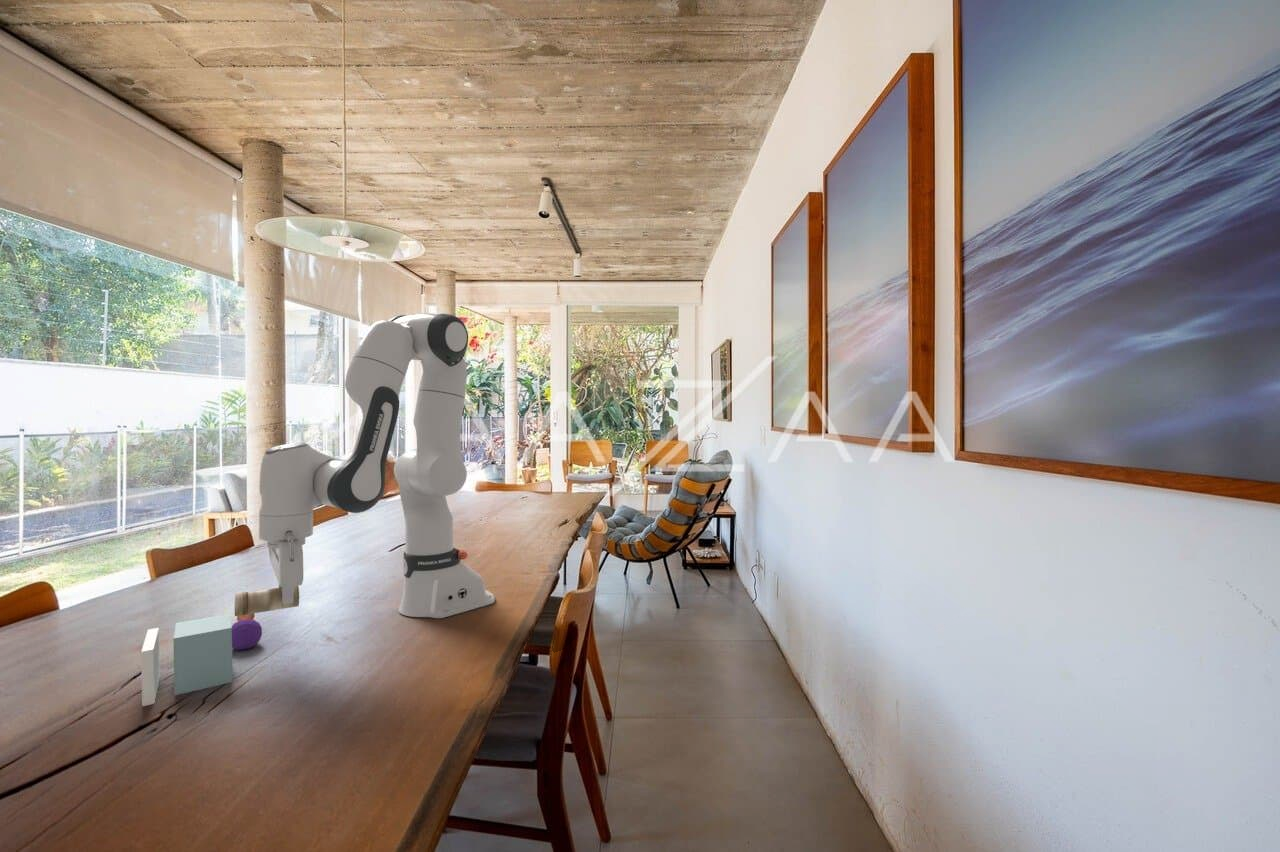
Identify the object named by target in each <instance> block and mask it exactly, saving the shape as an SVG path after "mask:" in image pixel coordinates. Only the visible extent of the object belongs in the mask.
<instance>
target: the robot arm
mask: <svg viewBox="0 0 1280 852" xmlns="http://www.w3.org/2000/svg"><path fill="white" fill-rule="evenodd" d="M468 344H469V333H468V330H467V328H466V325H465V323H464V321H463V320H462V319H461V318H459V317H457V316H456V315H453V314H448V313H429V312H422V313H417V314H408V315H403V314H402V315H398V316H395V317H392V318H390V319H388V320H386V319H385V320H384V319H382V320H378V321H376V322H374V323H373V324H372V325H371V326H370V327H369V329H367V332H366V333H365V334H364V336H363V337H362V339H361V341H360V343H359V344H358V346H357V347H356V350H355V353H354V355H353V356H352V359H351V361H350V363H349V366H348V368H347V370H346V375H345V380H344V382H345V383H344V387H345V390H346V393H347V395H348V396H349V397H350V399H351V400H352V401H353V402H354V403H355V404H357V405H358V407H359V408H360V409H361V414H362V420H361V424H360V426H359V431H358V435H357V438H356V441H355V444H354V448H353V450H352V453H351V454H350V456H349V457H348V458H347V459H342V458H341V459H340V458H336V457H333V456H330V455H327V454H324V453H322V452H320V451H318V450H316V449H315V448H313V447H311V446H310V444H309V443H305V442H293V443H285V444H279V445H276V446H273V447H270V448H268V449H267V450H266V451H265V452H264V454H263V456H262V459H261V465H260V472H259V494H260V496H261V497H260V498H261V506H260V509H259V512H258V514H259V515H258V520H259V521H258V522H259V523H258V539H259V540H260V541H261V540H262V541H264V542H265V541H266V547H267V548H268V554H269V559H270V560H269V561H270V565H271V567H272V570H273V572H274V576H275V577H276V580H277V582H278V588H282V603H283V604H291V603H292V602H293V596H294V589H295V586H298V587H300V586H302V585H303V582H304V551H303V546H304V545H305V544H306V538H309V537H312V536H313V535H314V507H315V506H316V505H323V506H327V507H332V508H337V509H339V510H341V511H344V512H348V513H351V514H358V513H363V512H364V513H365V512H366V511H369V510H370V509H372V508H373V507H375V506H376V505H377V503H379V501H380V500H381V498H382V497H383V494H384V491H385V488H386V465H387V464H386V463H387V460H388V456H389V451H390V447H391V443H392V439H393V436H394V434H395V433H394V432H395V429H396V424H397V422H398V416H399V411H400V394H401V389H402V387H403V383H404V380H405V377H406V376H407V371H408V368H409V365H410V362H411V361H420V364H421V367H422V375H421V376H420V377H421V378H420V382H419V386H418V392H417V398H416V402H415V403H416V405H415V409H414V410H415V411H414V415H413V419H412V420H413V426H414V430H415V435H416V437H415V438H416V448H414V449H411V450H409V451H406V452H403V453H402V454H401V455H400V456H399V457H398V458H397V459H396V460H395V462H394V464H393V473H394V474H393V475H394V477H395V479H396V481H397V484H398V485H397V486H398V489H399V490H398V492H399V495H400V497H399V498H400V501H401V506H402V512H403V517H404V530H405V531H404V535H405V537H404V538H405V539H404V540H405V547H404V548H405V551H404V552H403V559H402V571H403V576H404V581H403V582H404V583H403V592H402V596H401V601H400V605H399V608H398V612H399V614H401V615H403V616H406V617H410V618H411V617H412V618H433V619H444V618H446V617H451V616H454V615H458V614H460V613H465V612H468V611H472V610H474V609H479V608H482V607H485V606H489V605H491V604H494V603H495V595H494V594H493V593H492V592H491V591H489V590H488V589H486V586H485V582H484V579H483V577H482V575H481V574H480V573H478V572H477V571H476V570H474V569H473V568H471V567H470V566H469V565H466V564H464V562H462V561H461V560H466V559H467V558H468V556H469V555H468V552H467V551H465V550H463V549H462V550H460V549H458V548H456V547H454V518H453V514H452V512H451V511H450V508H449V505H448V501H447V498H446V497H447V496H451V495H454V494H456V493H458V492H459V491H460V490H461V489H462V488H463V487H464V485H465V483H466V481H467V477H468V476H467V475H468V474H467V473H468V472H467V468H466V467H467V466H466V465H465V463H464V460H463V455H462V453H463V452H462V444H461V443H462V442H461V427H462V419H463V412H464V405H465V399H466V393H467V380H468V379H467V377H468V376H467V374H468V373H467V362H466V361H465V359H464V357H465V355H466V353H467V352H466V351H467V348H468Z"/></svg>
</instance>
